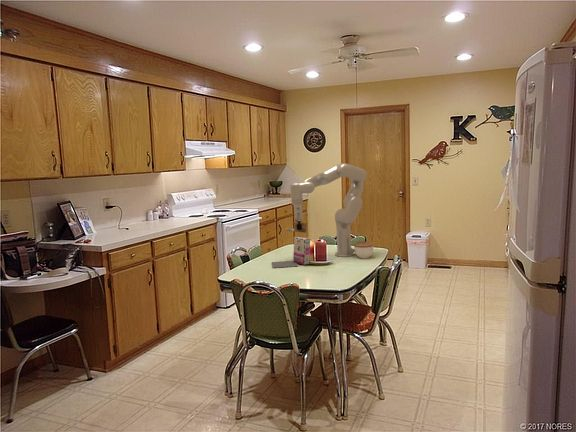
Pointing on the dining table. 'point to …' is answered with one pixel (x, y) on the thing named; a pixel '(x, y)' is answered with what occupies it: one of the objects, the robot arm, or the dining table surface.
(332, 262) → the dining table surface
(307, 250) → the candy bar box
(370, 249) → the lidded bowl
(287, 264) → the charcoal mat
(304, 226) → the turner
